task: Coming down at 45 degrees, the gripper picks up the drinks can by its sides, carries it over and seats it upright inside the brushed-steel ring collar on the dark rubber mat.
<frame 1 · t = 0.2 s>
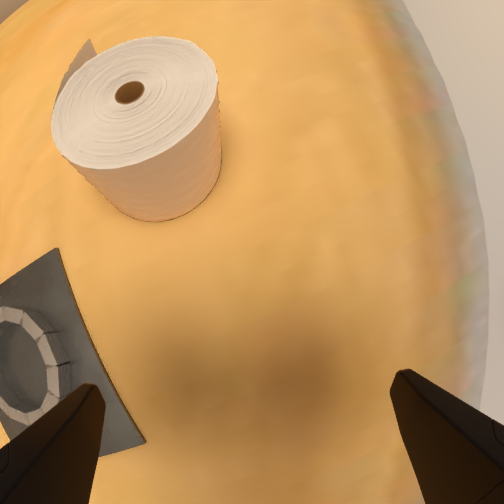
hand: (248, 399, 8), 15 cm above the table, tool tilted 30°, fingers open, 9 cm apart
toilet tissue: (154, 162, 25), on the table
ring seat: (28, 364, 20), on the table
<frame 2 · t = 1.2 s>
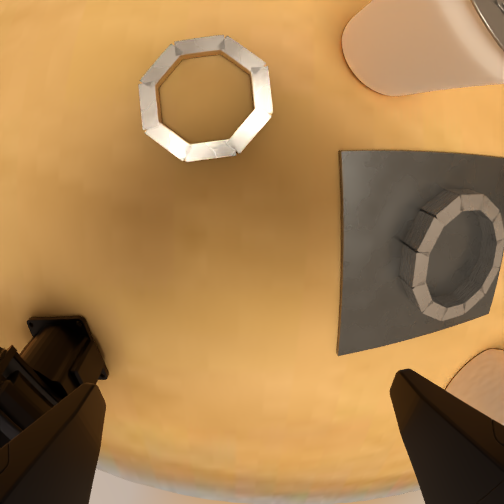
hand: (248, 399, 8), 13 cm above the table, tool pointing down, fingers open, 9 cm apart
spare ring: (205, 97, 16), on the table
toilet tissue: (474, 376, 29), on the table
can: (381, 54, 16), on the table
ring seat: (448, 250, 21), on the table
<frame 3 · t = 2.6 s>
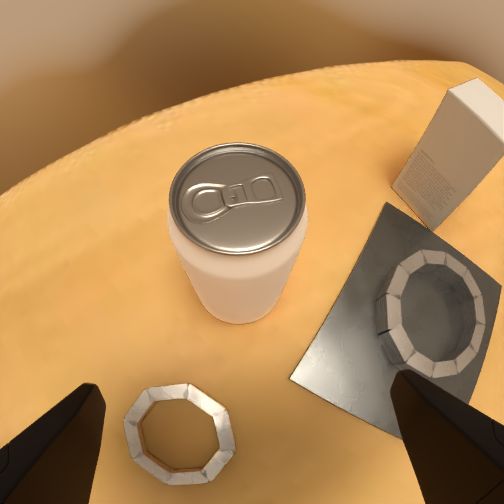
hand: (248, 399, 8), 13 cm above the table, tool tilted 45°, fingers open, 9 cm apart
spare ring: (179, 434, 18), on the table
small box: (428, 193, 28), on the table
can: (238, 284, 23), on the table
ring seat: (426, 318, 22), on the table
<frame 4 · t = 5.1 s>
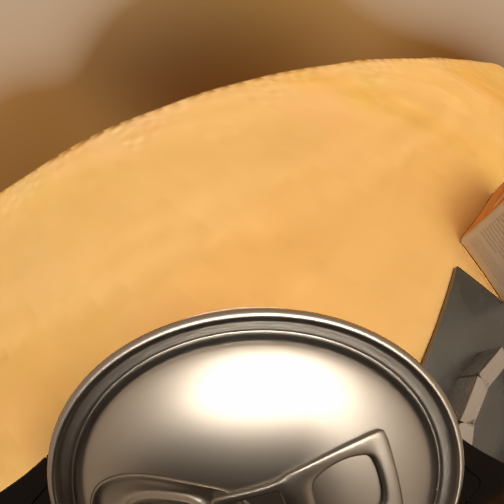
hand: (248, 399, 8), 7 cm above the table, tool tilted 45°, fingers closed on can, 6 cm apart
small box: (497, 245, 18), on the table
can: (247, 416, 13), on the table, touching gripper
ring seat: (490, 424, 12), on the table
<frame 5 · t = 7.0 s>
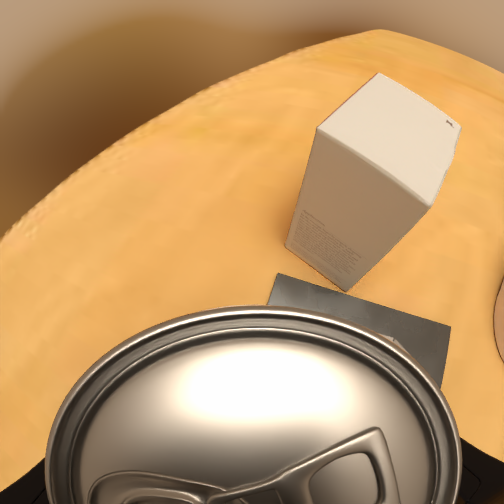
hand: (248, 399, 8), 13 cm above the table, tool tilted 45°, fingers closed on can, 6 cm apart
small box: (338, 236, 25), on the table
can: (246, 415, 13), point 6 cm above the table, touching gripper
ring seat: (347, 403, 19), on the table
when the fingers open (8 cm above the table, at t = 9.0 s): can stays where it is, resting on ring seat.
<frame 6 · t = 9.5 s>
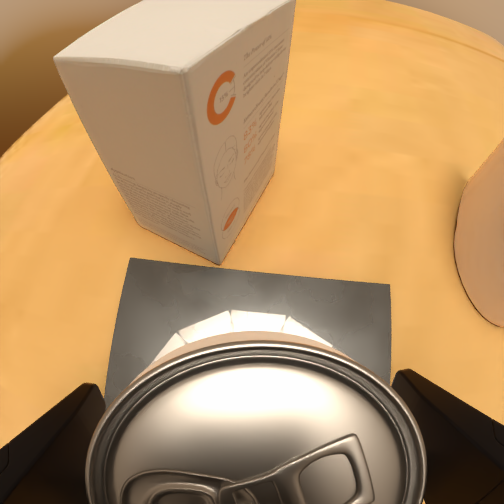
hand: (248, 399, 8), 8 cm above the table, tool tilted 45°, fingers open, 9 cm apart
toilet tissue: (491, 260, 19), on the table
small box: (207, 199, 20), on the table
can: (247, 418, 14), resting on ring seat
ring seat: (246, 413, 15), on the table
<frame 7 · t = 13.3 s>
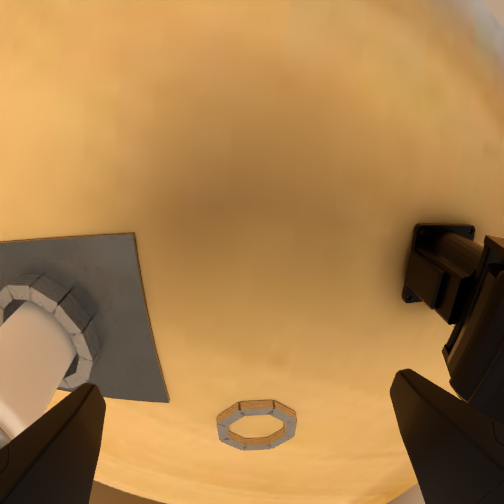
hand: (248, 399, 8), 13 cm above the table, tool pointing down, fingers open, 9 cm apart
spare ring: (256, 423, 27), on the table
can: (50, 327, 21), resting on ring seat
ring seat: (50, 326, 22), on the table
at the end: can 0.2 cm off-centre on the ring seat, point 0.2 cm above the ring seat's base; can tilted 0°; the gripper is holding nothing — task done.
